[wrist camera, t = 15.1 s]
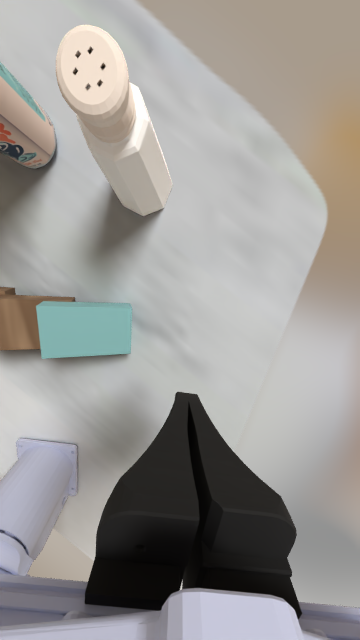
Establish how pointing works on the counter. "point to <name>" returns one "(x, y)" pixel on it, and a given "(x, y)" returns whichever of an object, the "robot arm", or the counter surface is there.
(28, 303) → the walnut domino
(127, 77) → the pepper shaker
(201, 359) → the counter surface
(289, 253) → the counter surface
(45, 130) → the beer can
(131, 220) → the counter surface
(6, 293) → the walnut domino
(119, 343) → the teal domino
